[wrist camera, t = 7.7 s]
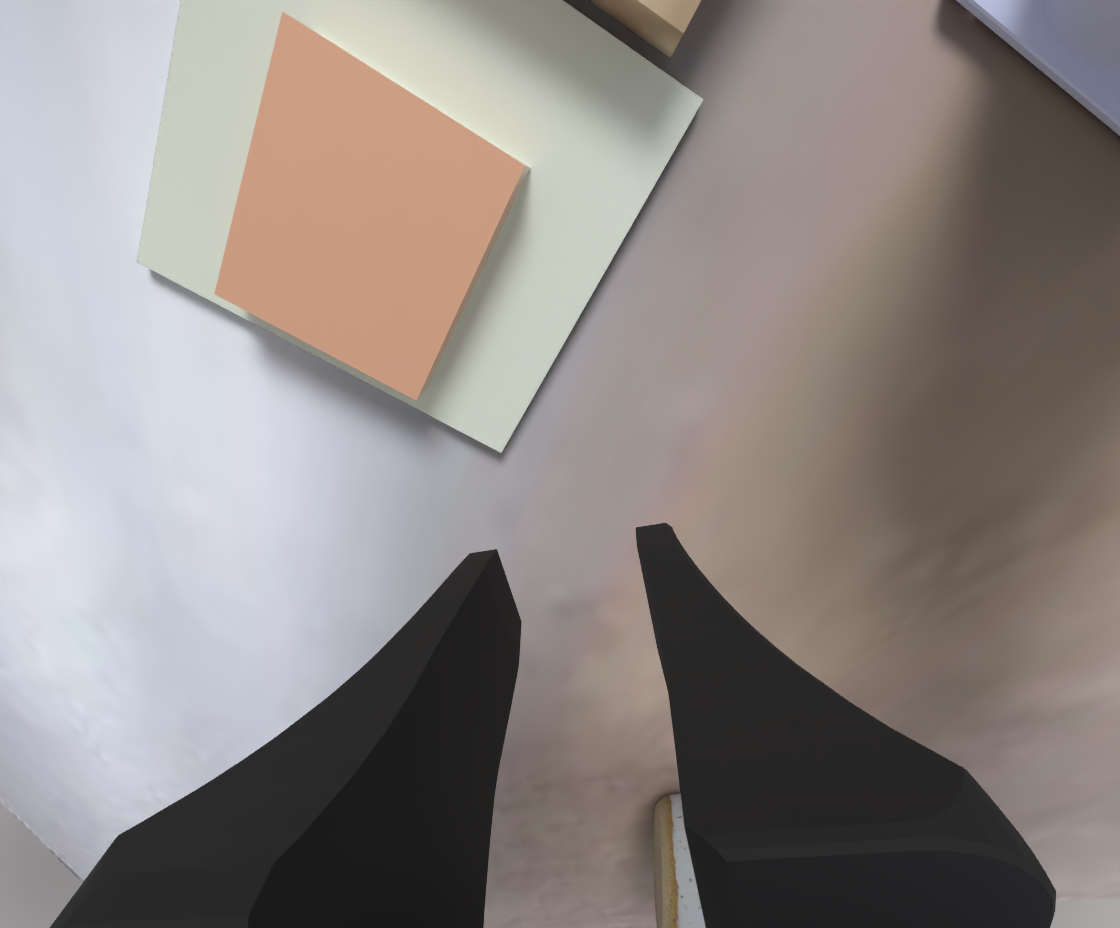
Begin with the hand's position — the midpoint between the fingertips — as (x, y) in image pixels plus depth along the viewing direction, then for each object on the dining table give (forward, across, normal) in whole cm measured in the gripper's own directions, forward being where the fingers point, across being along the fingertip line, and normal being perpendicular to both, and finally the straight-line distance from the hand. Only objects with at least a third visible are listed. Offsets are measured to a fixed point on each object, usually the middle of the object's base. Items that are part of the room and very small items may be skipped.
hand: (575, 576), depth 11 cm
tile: (+9, +2, -10) cm, 14 cm away
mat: (+10, +4, -9) cm, 14 cm away
